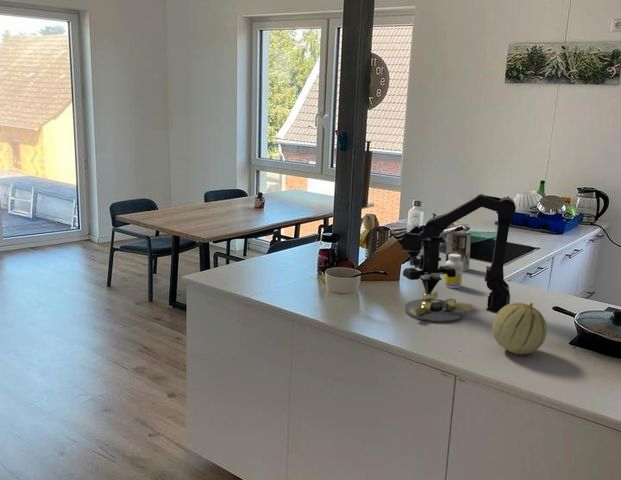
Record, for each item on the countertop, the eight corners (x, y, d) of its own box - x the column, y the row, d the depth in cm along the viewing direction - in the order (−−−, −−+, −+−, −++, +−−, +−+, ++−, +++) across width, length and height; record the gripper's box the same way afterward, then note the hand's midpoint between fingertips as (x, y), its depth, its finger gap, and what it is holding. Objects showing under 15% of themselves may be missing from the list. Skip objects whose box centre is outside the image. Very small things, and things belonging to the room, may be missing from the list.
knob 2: (428, 304, 202) (429, 295, 202) (420, 302, 204) (421, 294, 204) (439, 298, 209) (440, 290, 208) (431, 296, 211) (432, 288, 210)
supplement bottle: (448, 282, 235) (450, 252, 232) (464, 286, 231) (466, 254, 228) (441, 286, 230) (443, 255, 227) (456, 289, 225) (458, 258, 223)
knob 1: (424, 309, 198) (424, 300, 197) (432, 311, 196) (433, 302, 195) (410, 315, 192) (410, 306, 191) (418, 317, 189) (419, 308, 189)
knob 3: (445, 310, 197) (446, 301, 196) (445, 306, 200) (446, 298, 199) (472, 312, 195) (472, 303, 195) (471, 309, 198) (472, 300, 198)
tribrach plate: (474, 312, 200) (475, 300, 199) (444, 327, 186) (445, 314, 185) (424, 299, 214) (425, 288, 213) (393, 312, 199) (394, 300, 198)
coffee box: (469, 268, 256) (472, 233, 253) (464, 271, 251) (467, 235, 247) (449, 265, 261) (451, 230, 257) (444, 268, 256) (447, 233, 252)
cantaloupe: (480, 346, 172) (484, 298, 169) (518, 339, 178) (523, 292, 174) (515, 366, 159) (520, 314, 155) (555, 357, 164) (561, 307, 161)
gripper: (442, 247, 216) (438, 287, 219) (397, 249, 210) (394, 290, 213) (458, 254, 206) (454, 296, 209) (412, 257, 200) (408, 300, 203)
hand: (427, 295), depth 209 cm, fingers closed
